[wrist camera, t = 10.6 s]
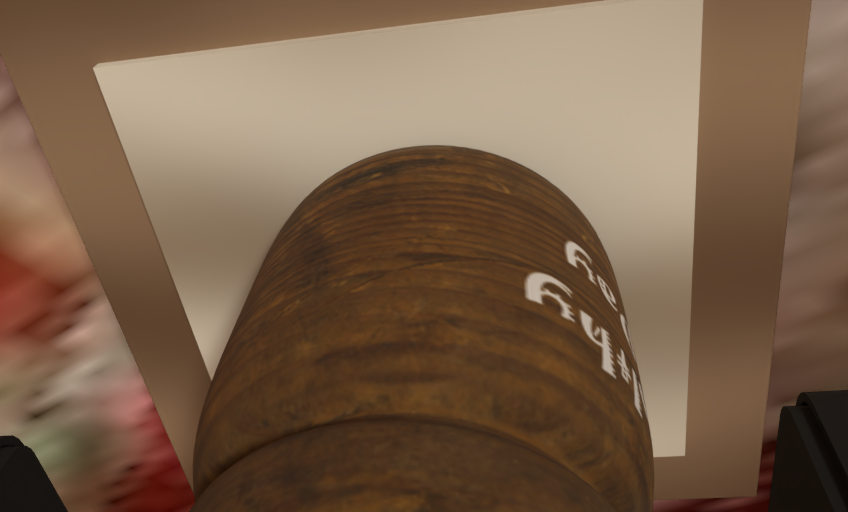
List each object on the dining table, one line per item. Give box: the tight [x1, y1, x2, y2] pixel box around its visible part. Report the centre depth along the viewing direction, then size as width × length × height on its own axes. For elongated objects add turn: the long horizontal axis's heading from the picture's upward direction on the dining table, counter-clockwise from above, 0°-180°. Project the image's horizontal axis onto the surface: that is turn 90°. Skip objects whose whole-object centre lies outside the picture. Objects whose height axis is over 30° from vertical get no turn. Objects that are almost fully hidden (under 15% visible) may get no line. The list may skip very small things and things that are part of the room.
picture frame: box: [0, 0, 812, 500], centre depth 15 cm, size 12×12×3 cm
